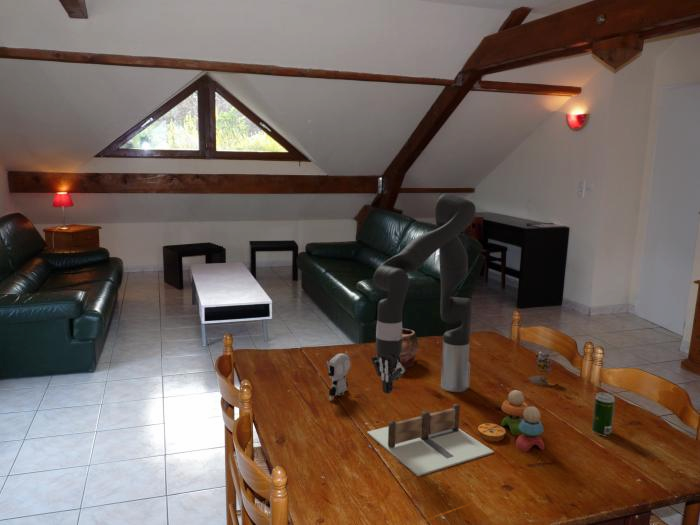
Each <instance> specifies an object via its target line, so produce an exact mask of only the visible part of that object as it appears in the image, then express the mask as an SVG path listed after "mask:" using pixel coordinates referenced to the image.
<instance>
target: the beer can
mask: <svg viewBox="0 0 700 525" xmlns="http://www.w3.org/2000/svg"><path fill="white" fill-rule="evenodd" d="M615 403H616V400H615V395H613V394H611V393H609V392H608V393H607V392H598V393H596V396H595V398H594V406H593V407H594V408H593V415H592V428H591V429H592V432H593V431H594V432H596V433H598V434H601V435H609V434H610V435H611V434H612V431H613V423H614V413H615ZM594 432H593V433H594ZM610 435H609V436H610Z"/></svg>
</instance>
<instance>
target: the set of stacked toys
mask: <svg viewBox="0 0 700 525" xmlns="http://www.w3.org/2000/svg"><path fill="white" fill-rule="evenodd" d="M507 399H508V400H507ZM507 399H506V400H504V401H503V403H502V405H501V408H500V409H501V411H502V412H503V413H505V414H507V416H505V417H504V418H503V419H502V420H501V424H500V425H498V424H496V423H489V422H487V423H482V424H480V425H478V427H477V429H478V434H479V437H480V438H481V439H483V440H484V441H488V442H494V441H496V442H500V440H501V441H502V440H503V439H504V437H505V435H506V429H505V428H504V427H505V426H506V425H507V426H508V427H509V429H510V434H511V433H512V434H511V435H513V434H517V435H516V436H518V437H517V439H516V440H515V442H514V443H515V444H514V446H515V445H516V446H515V447H517V448H518V450H519V449H520V450H521V451H520V450H519V451H520V452H522V451H523V452H522V453H528V452H529V451H530V449H532V448H533V446H536V447H537V448H539V449H540V450H541V449H544V450H545V444H544V442H543V439H542V438H541V437H540V436H541V434H543V433H544V430H545V429H544V426H543V424H542V422H541V412H540V410H539V409H538V408H537V407H535V406H533V405H532V406H528V403H526V402H524V401H525V396H524V393H522V391H520V390H517V389H514V390H511V391H510V392H509V393H508V395H507ZM521 417H523V418H521ZM501 425H502V426H501ZM518 434H521V435H518ZM531 447H532V448H531ZM517 448H516V449H517Z"/></svg>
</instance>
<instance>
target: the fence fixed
mask: <svg viewBox="0 0 700 525" xmlns="http://www.w3.org/2000/svg"><path fill="white" fill-rule="evenodd" d="M460 410H461V405H460V404H459V403H453V405H452V407H451V408H447V409H443V410H440V411H436V412H431V413H430V411H428V410H422V411H421V412H420V413H421V414H420V415H421V416H420V417H422V437H420V439H422V440H427V439H428V438H429V435H431V434H435V433H438V432H442V431H446V430H449V429H452V430H453V431H458V430H459V429H460V427H459V426H460V413H461V412H460Z"/></svg>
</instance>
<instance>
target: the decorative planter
mask: <svg viewBox="0 0 700 525" xmlns="http://www.w3.org/2000/svg"><path fill="white" fill-rule="evenodd" d="M418 349H419V341H418V337H417V335H416V332H415V331H414V330H412V329H408V328H403V332H402V351H401V353H400V360H401V362H400V363H401V365H402V367H406V369H408V368H411V367H412V366H413V365H414V363H415V359H416V354H417V351H418Z"/></svg>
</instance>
